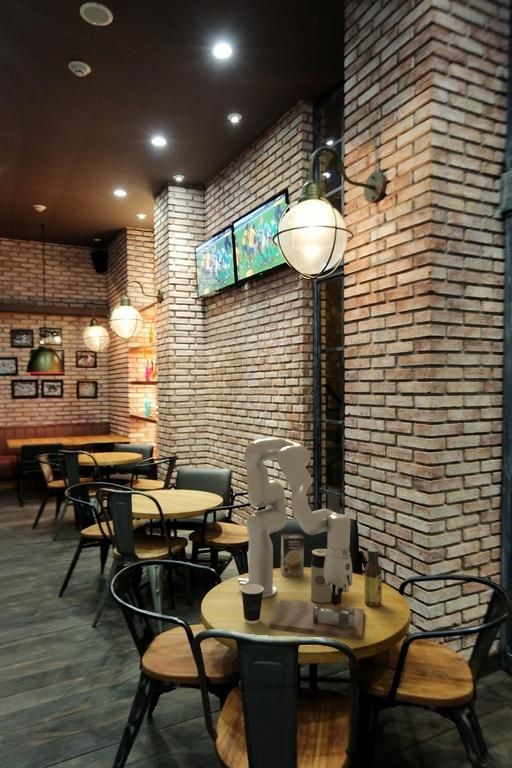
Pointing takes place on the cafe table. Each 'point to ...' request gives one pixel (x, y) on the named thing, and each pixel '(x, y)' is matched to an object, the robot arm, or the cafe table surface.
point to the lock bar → (332, 616)
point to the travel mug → (319, 578)
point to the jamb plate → (301, 620)
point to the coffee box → (292, 555)
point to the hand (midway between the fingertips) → (336, 603)
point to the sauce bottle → (373, 580)
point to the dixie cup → (252, 602)
